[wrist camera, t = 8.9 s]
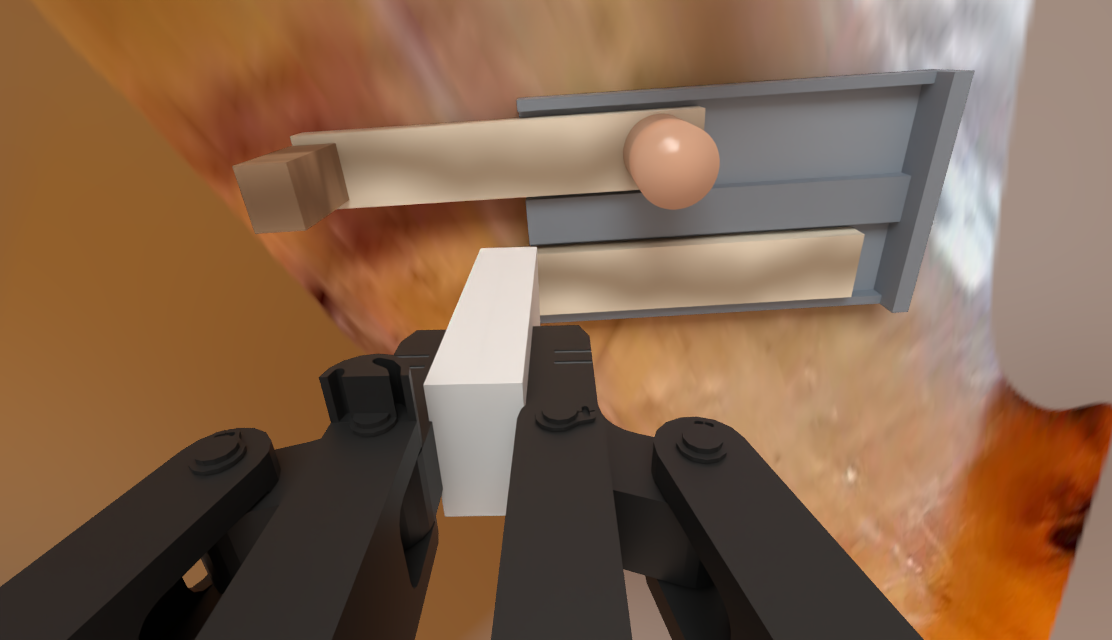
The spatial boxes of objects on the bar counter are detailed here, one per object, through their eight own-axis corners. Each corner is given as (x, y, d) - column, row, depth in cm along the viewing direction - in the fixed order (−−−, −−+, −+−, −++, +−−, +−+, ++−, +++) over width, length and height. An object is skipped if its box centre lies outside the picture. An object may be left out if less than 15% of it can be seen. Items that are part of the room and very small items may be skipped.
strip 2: (491, 248, 33) (475, 298, 27) (850, 226, 33) (929, 270, 26) (498, 306, 35) (485, 366, 28) (838, 286, 35) (908, 343, 28)
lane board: (518, 97, 30) (514, 102, 27) (934, 69, 30) (974, 70, 27) (537, 311, 37) (536, 333, 34) (879, 291, 36) (907, 311, 33)
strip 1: (302, 132, 30) (228, 154, 23) (697, 105, 30) (741, 120, 23) (321, 203, 32) (258, 243, 25) (693, 179, 31) (732, 213, 25)
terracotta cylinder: (622, 115, 28) (636, 126, 24) (696, 111, 28) (723, 121, 24) (623, 188, 30) (635, 211, 26) (691, 184, 30) (716, 206, 25)
